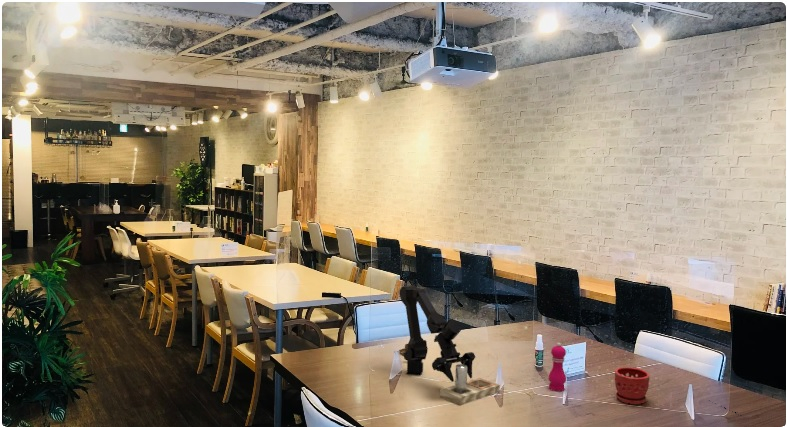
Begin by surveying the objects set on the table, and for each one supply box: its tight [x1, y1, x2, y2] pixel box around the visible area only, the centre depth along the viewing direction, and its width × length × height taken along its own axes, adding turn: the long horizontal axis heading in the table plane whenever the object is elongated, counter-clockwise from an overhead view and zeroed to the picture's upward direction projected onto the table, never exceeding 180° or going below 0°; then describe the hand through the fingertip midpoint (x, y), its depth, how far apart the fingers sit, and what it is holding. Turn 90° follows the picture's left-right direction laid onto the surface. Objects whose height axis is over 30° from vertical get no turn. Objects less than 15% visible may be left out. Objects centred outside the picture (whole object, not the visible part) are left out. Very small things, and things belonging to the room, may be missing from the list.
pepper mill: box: [548, 342, 567, 392], centre depth 267 cm, size 7×7×20 cm
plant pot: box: [614, 366, 650, 405], centre depth 256 cm, size 13×13×12 cm
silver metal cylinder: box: [454, 363, 468, 394], centre depth 254 cm, size 5×5×13 cm
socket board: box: [439, 377, 501, 406], centre depth 258 cm, size 24×11×3 cm, turn 131°
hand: (462, 379), depth 253 cm, fingers open, 9 cm apart
